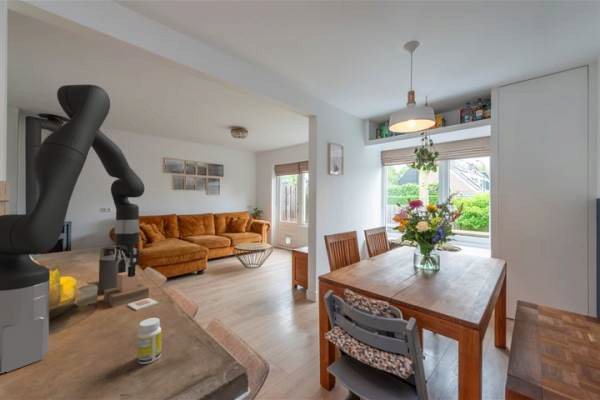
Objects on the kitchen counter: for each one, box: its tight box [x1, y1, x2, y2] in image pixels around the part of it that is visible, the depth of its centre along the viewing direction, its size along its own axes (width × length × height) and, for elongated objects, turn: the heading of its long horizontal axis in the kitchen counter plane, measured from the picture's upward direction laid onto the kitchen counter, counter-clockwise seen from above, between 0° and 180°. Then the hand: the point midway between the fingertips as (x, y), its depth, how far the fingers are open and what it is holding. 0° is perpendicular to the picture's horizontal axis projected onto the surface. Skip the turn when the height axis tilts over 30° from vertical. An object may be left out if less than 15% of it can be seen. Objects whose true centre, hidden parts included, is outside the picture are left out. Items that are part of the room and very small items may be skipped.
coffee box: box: [99, 245, 117, 259], centre depth 111 cm, size 9×6×16 cm
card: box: [126, 297, 159, 311], centre depth 86 cm, size 7×7×1 cm
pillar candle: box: [98, 255, 128, 295], centre depth 101 cm, size 10×10×15 cm
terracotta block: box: [117, 271, 139, 292], centre depth 92 cm, size 5×5×6 cm
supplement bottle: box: [136, 317, 162, 365], centre depth 56 cm, size 5×5×8 cm
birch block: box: [75, 283, 98, 308], centre depth 87 cm, size 5×5×6 cm
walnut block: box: [103, 282, 150, 308], centre depth 91 cm, size 11×11×4 cm
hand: (126, 274), depth 91 cm, fingers open, 8 cm apart
